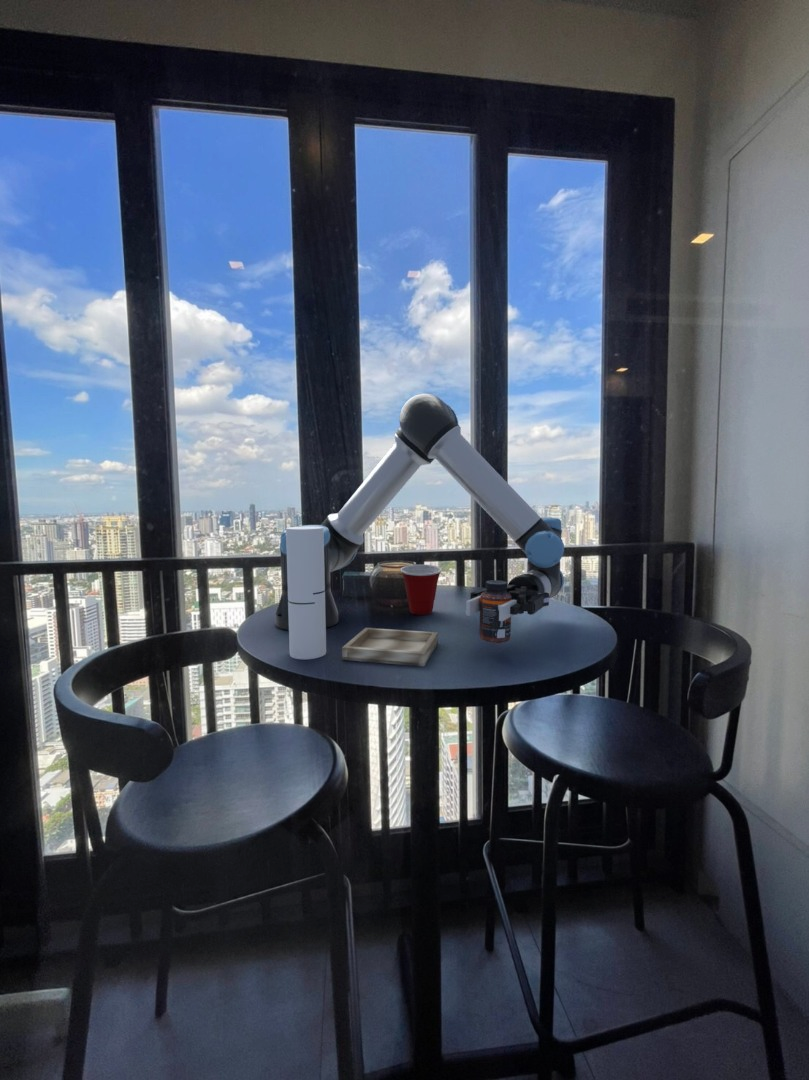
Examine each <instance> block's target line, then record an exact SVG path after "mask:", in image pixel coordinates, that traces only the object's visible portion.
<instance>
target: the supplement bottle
mask: <svg viewBox="0 0 809 1080" xmlns="http://www.w3.org/2000/svg"><path fill="white" fill-rule="evenodd" d="M507 585H508V581H504V580H499V579H497V580H493V579H491V580H486V581H485V588H486V589H487V590H486V591H484V592H483V593H482V594H481V597H480V611H479V632H478V633H479V638H480V639H481V640H482V641H485V642H489V643H495V644H500V643H501V644H502V643H506V642H509V640H510V639H511V632H512V631H511V630H512V629H511V625H512V616H511V617H510V618H508V619H506V620H504V621H499V606H500V605H502V604H505V603H507V602H509V601H511V600H512V597H511V595H510V594H509V593H508V592H507V590H506V589H507Z"/></svg>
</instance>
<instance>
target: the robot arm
mask: <svg viewBox="0 0 809 1080" xmlns="http://www.w3.org/2000/svg"><path fill="white" fill-rule="evenodd" d="M400 410H401V411H400V414H399V421H398V422H399V426H400V427H399V428H398V429H397V430H396V432H395V433H394V440H395V442H394V443H393V445H392V446H391V447H390V448H389V450H388V451H387V452H386V454H384V456H383V457H382V459H380V461H379V462H378V463H377V465H376V466H375V467H374V468H373V470H372V471H370V473H369V475H368V476H366V478H365V479H364V481H363V482H362V483H361V484H360V485H359V487H358V488H356V489H355V491H354V493H353V494H352V495H351V496H350V498H349V499H348V500H347V501H346V503H345V504H344V505H343V507H342V508H341V509H340V510H339V511H338V512H337V513H329V514H328V515H327V517H326V518H325V519H324V521H323V522H321V524H307V525H306V524H304V525H303V524H302V525H299V526H297V525H296V526H295V527H324V573H325V619H326V629H327V628H331V627H334V626H335V625H337V624H338V623H339V611H338V608H337V605H336V602H335V599H334V596H333V593H332V589H331V585H332V584H331V573H332V572H334V571H338V570H339V571H340V570H341V569H344V568H345V567H347V566H349V565H350V564H351V562H352V561H354V559H355V557H356V555H357V553H358V549H359V548H360V547H362V545H364V544H363V543H364V538H365V537H364V533H366V531H367V530H368V529H369V528H370V527H371V525H373V523H374V521H375V520H376V519H377V518H378V517H379V516H380V515H381V513H382V512H383V511H384V510H385V509H386V507H387V506H388V505H389V504H390V503H391V502H392V501H393V499H394V498H395V497H396V495H398V493H399V492H400V491H401V490H402V489H403V487H404V486H405V485H406V483H408V482H409V480H410V479H411V478H412V477H413V476H414V475H415V473H416V472H417V470H419V468H420V467H422V466H424V465H431V464H432V462H433V461H434V460H436V462H438V463H439V464H440V465H441V466H442V467H443V468H444V470H446V472H448V473H449V475H450V476H451V477H452V478H453V479H454V480H455V481H456V482H457V483H458V484H459V485H460V486H461V487H462V488H463V489H464V490H465V491H466V492H467V493H468V494H469V496H470V497H471V498H472V499H473V500H474V501H475V502H476V503H477V504H478V505H479V506H480V507H481V508H482V509H483V510H484V511H485V512H486V514H488V516H490V518H492V520H493V521H494V522H496V524H497V525H498V526H499V527H500V528H501V529H502V530H503V532H505V533H506V535H508V537H510V539H512V541H513V542H514V543H515V544H516V545H517V546H518V548H519V549H520V550H521V551H522V552H524V555H525V556H526V559H527V565H526V567H527V569H526V570H527V571H526V572H524V573H522V574H519V575H517V576H515V577H513V578H512V579H510V581H509V582H508V583H507V589H506V590H507V592H508V593H509V594H510V595H511V597H512V600H511V601H509V602H507V603H505V604H502V605H500V606H499V621H504V620H506V619H508V618H510V617H511V618H512V617H513V616H516V615H522V614H523V615H524V613H525V612H527V613H526V614H528V615H529V616H531V615H535V614H536V613H537V612H538V611H539V610H542V608H544V607H547V606H549V604H550V599H552V598H554V597H555V596H557V595H558V594H559V592H561V590H563V587H564V585H565V577H564V573H563V572H562V570H561V560H562V557H563V556H564V555H563V554H564V552H565V544H564V542H563V539H562V535H563V533H562V532H563V530H562V520H561V519H560V518H557V517H542V516H539V514H538V513H537V512H536V511H535V510H534V509H533V508H532V507H531V506H530V504H528V503H527V502H526V501H525V500H524V499H523V498H522V497H521V496H520V494H519V493H517V491H516V490H515V489H514V488H513V487H512V486H511V485H510V484H509V483H508V482H507V481H506V479H504V478H503V476H502V475H501V474H499V472H497V470H495V469H494V467H493V466H491V464H490V463H489V462H488V461H487V460H486V459H485V458H484V457H483V456H482V455H481V453H479V451H478V450H477V449H476V448H475V447H473V445H471V443H470V442H469V441H468V440H467V439H466V438H465V437H464V436H463V435H462V433H461V431H462V430H461V428H462V427H461V426H460V425H459V421H458V417H457V413H456V412H455V410H453V408H451V406H450V405H449V404H447V403H446V402H444V400H442V399H441V398H440V397H439V396H436V395H434V394H432V393H419V394H416V395H414V396H412V397H411V398H409V399H408V400H407V401H405V403H404V405H403V406H402V407H401V409H400ZM279 550H280V552H279V553H280V571H281V572H280V573H281V575H280V576H281V594H280V595H281V596H280V599H279V602H278V605H277V608H276V611H275V616H274V617H275V618H274V619H275V624H274V625H275V626H276V627H277V628H279V629H281V630H287V631H289V615H288V582H287V548H286V529H285V530H283V531H282V532H281V534H280V544H279ZM486 590H487V589H486V587H485V588H482V589H478V590H475V591H473V592H470V599H468V600H466V603H465V615H466V616H469V617H471V616H472V615H474V614H477V613H478V612H479V613H480V597H481V594H482V593H483V592H484V591H486Z"/></svg>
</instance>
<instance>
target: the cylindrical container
mask: <svg viewBox="0 0 809 1080" xmlns="http://www.w3.org/2000/svg"><path fill="white" fill-rule="evenodd" d="M285 530H286V548H287V582H288V615H289V630H288V642H289V656H290V657H291V658H292V659H295V660H314V659H318V658H321V657H324V656H326V654H327V628H326V619H325V573H324V527H299V526H297V527H296V526H291V527H285Z"/></svg>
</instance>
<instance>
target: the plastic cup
mask: <svg viewBox="0 0 809 1080" xmlns="http://www.w3.org/2000/svg"><path fill="white" fill-rule="evenodd" d="M400 572H401V573H402V577H403V581H404V585H405V592H406V596H407V601H408V609H409V612H410V614H412V615H416V616H417V615H418V616H426V615H431V614H432V613H433V610H434V604H435V599H436V593H437V589H438V582H439V578H440V574H441V572H442V567H440V566H437V565H432V564H411V565H405V566H403V567H401V568H400Z"/></svg>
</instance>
